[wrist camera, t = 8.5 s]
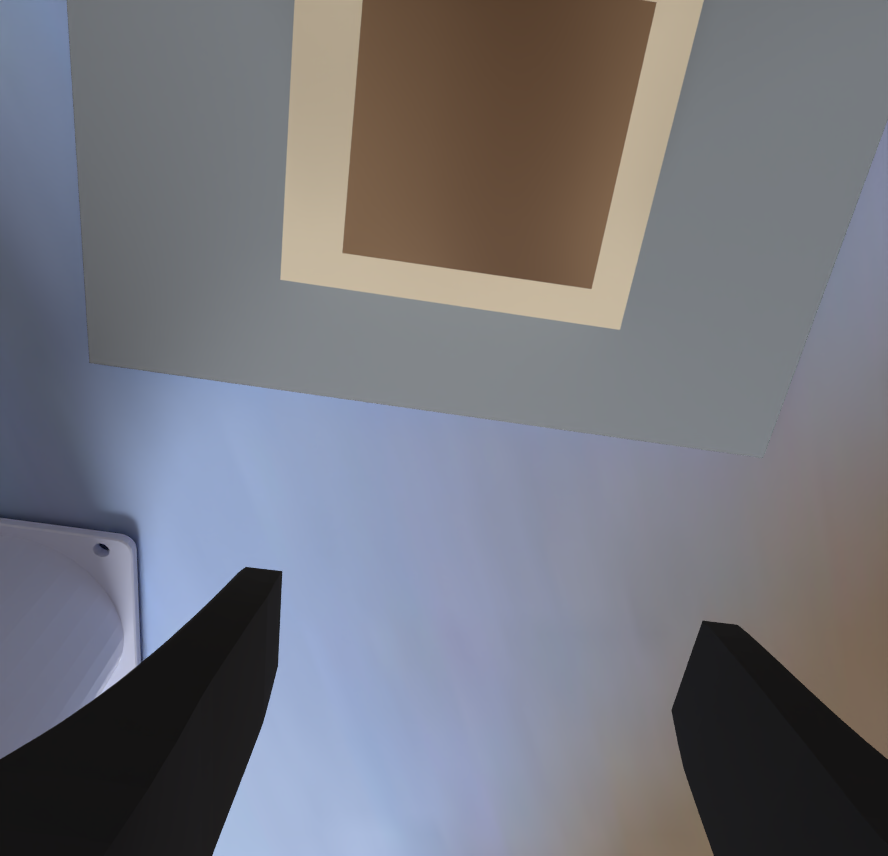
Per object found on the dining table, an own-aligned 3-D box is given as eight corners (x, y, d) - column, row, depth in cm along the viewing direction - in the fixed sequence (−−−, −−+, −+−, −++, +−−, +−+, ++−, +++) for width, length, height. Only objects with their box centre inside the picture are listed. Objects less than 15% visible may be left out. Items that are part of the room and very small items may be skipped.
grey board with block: (98, 356, 21) (33, 402, 18) (57, -381, 15) (-59, -522, 11) (755, 449, 22) (807, 509, 19) (993, -209, 15) (1137, -295, 12)
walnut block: (375, 210, 16) (342, 252, 11) (396, 4, 14) (366, -45, 10) (554, 237, 16) (591, 289, 11) (594, 35, 14) (656, 2, 10)
